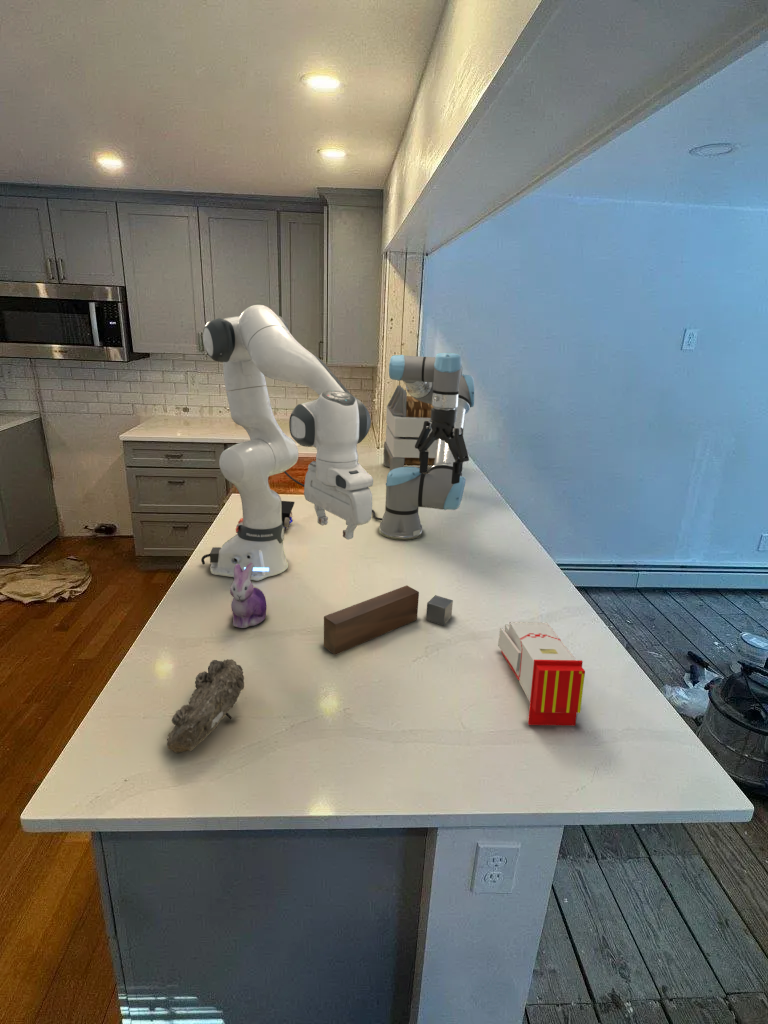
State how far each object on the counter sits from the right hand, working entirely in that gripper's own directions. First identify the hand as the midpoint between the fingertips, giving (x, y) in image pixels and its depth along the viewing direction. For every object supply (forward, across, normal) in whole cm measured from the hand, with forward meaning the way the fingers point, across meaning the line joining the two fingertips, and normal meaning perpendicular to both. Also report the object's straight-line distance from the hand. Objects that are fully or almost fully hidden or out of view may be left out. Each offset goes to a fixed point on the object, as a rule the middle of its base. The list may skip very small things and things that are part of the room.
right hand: (438, 477), depth 173 cm
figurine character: (+27, -50, -25) cm, 62 cm away
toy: (+27, +59, -29) cm, 71 cm away
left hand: (-2, +20, -54) cm, 58 cm away
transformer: (+27, -74, +66) cm, 102 cm away
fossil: (+27, +28, -88) cm, 96 cm away
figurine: (+27, 0, -65) cm, 70 cm away
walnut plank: (+27, +23, -44) cm, 56 cm away
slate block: (+27, +28, -26) cm, 47 cm away
